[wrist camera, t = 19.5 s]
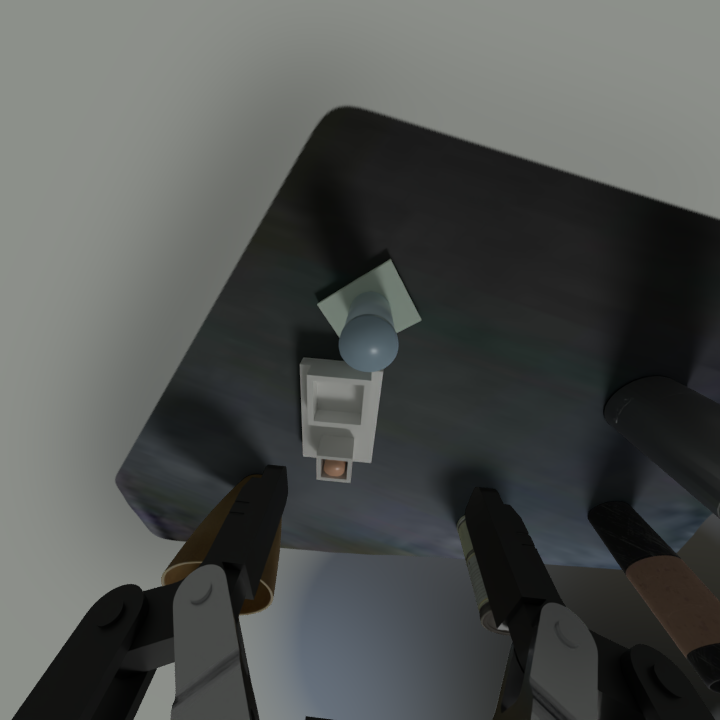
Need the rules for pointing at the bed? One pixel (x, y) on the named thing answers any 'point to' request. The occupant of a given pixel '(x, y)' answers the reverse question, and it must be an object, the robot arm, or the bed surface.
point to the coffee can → (477, 580)
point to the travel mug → (664, 586)
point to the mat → (375, 280)
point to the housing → (338, 413)
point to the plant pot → (203, 541)
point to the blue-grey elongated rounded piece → (369, 334)
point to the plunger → (334, 467)
